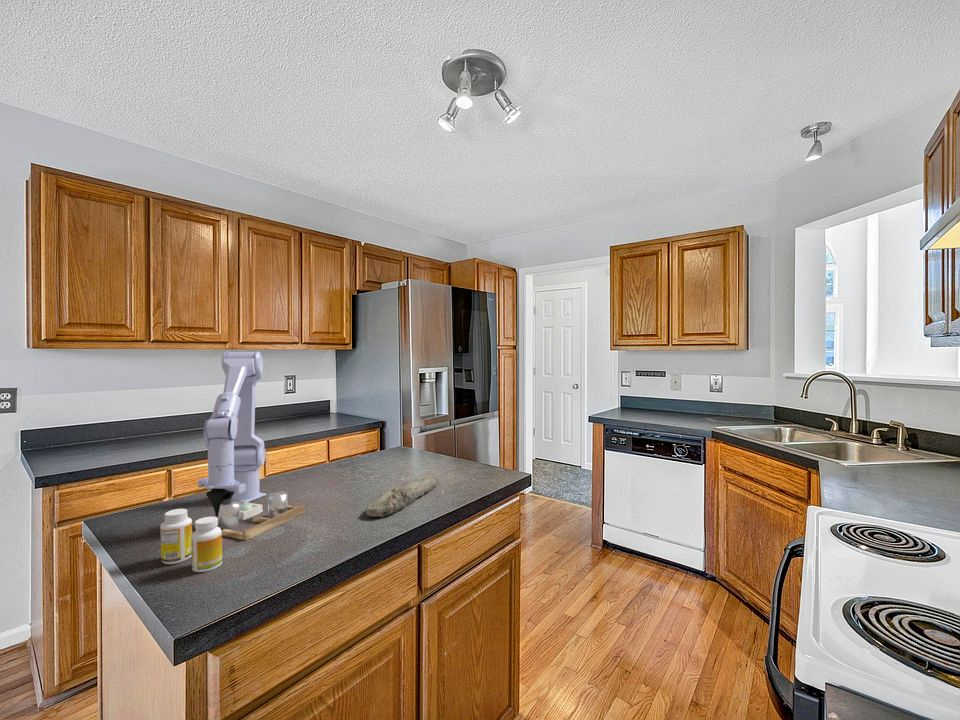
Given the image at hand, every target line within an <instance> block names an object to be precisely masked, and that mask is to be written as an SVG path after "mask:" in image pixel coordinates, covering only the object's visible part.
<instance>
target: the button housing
mask: <svg viewBox="0 0 960 720" xmlns="http://www.w3.org/2000/svg"><path fill="white" fill-rule="evenodd" d="M246 503H249V502H246ZM250 503H251V504H253V508H251V509H249V510H246V511H240V516H239V520H242V521H245V520H247V519H251V518H253V517H254V516H258V515H259V514H262V513H263V511H264V509H263V508H264V507H263V504H259V503H253V502H250ZM242 504H245V503H242ZM261 512H262V513H261Z"/></svg>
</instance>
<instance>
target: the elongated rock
mask: <svg viewBox="0 0 960 720" xmlns="http://www.w3.org/2000/svg"><path fill="white" fill-rule="evenodd" d="M439 483H440V478H439V477H437V475H434V474H433V475H424V476H419V477H417V478H415V479H413V480H411V481H410V480H409V482H406V483H405V484H403V485H401V486H396V487H393V488H392V489H386V490H385V491H384V492H382V493H381V494H380V495H379V494H378V496H377V497H376V498H375V499H373V500H371V501H370V502H369V503H368V504H367V506H366V507H365V513H366V516H367V517H372V518H375V517H377V518H378V517H381V518H383V517H386V516H389V515H391V514H395V513H397V512H399V511H400V510H402V509H403V510H404V509H407V507H409V505H410V504H412V503H413V502H414V501H416V500H417V499H418V498H419V497H421V496H424V495H425V494H426V493H428V492H429V491H432V490H433V488H436V487H437V486H438V484H439Z"/></svg>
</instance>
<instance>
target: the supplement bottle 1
mask: <svg viewBox="0 0 960 720" xmlns="http://www.w3.org/2000/svg"><path fill="white" fill-rule="evenodd" d="M159 527H160V528H159V529H160V558H161V562H162V563H163V564H165V565H175V564H180V563H183V562H185V561H187V560H189V559H190V558H191V535H192V534H193V520H192V518H191V517H189V516H188V510H187V509H186V508H175V509H170V510H169V511H167V512H165V513H164V521H162V523H161V524H160V526H159Z"/></svg>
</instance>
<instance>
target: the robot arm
mask: <svg viewBox="0 0 960 720" xmlns="http://www.w3.org/2000/svg"><path fill="white" fill-rule="evenodd" d="M221 367H222V371H223V372H224V375H225V381H224V386H223V393H220V394H219V395H217V397H216V401H215V404H214V407H213V411H212V414H211V417H210V418H209V419H207V420H206V421H205V423H204V425H203V437H204V440H205V447H206V449H207V469H208V470H207V474H208V475H207V477H203V478H201V479H198V480H197V487H198V488H204V489H205V490H206V489H207V490H210V491H207V492H206V497H207V498H208V500H209V501H210V502H211V505H212V508H213V510H214V514H215V517H217V518H218V514H219V508H220V503H221V501H222V500H225V499H229V498H234V499H239V500H240V501H242V504H243V503H246V502H248V503H251V502H252V501H254V500H258V499H260V498H263V497H265V496H267V493H264V492H260V485H261V484H260V467H262V466H264V464H265V462H266V461H265V460H266V449H265V442H264V440H263V439H261V438H260V437H258V436H257V435H256V434H255V425H256V424H255V422H256V421H255V420H256V419H255V416H256V415H255V414H256V387H257V381H260V380H262V378H263V375H264V372H263V371H264V358H263V355H262V353H261V352H260V351H225V352H224V353H223V354H222V356H221Z"/></svg>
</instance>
